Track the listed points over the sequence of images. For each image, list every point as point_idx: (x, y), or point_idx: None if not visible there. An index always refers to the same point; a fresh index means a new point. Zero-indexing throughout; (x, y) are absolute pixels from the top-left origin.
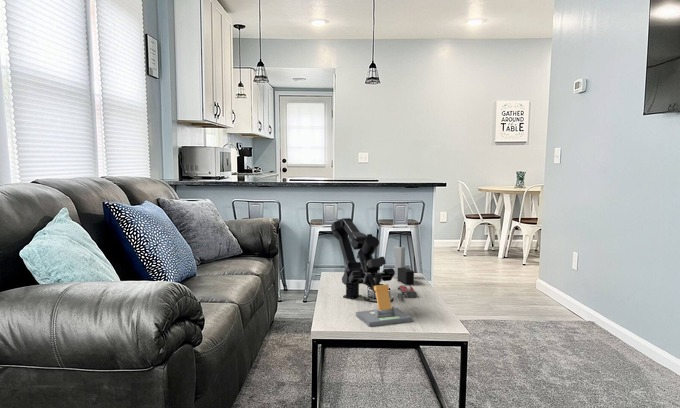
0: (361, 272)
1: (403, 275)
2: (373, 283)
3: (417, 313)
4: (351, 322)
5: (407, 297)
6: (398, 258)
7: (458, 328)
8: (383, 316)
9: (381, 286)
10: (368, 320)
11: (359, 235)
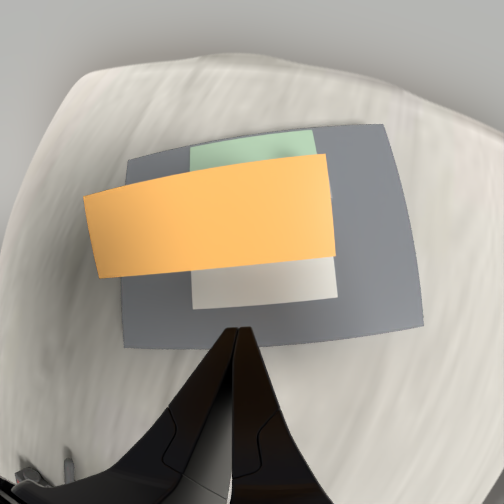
0: None
1: None
2: (266, 442)
3: (67, 276)
4: (454, 215)
5: (51, 486)
6: None
7: (65, 101)
8: None
9: (210, 168)
10: (383, 150)
11: None
